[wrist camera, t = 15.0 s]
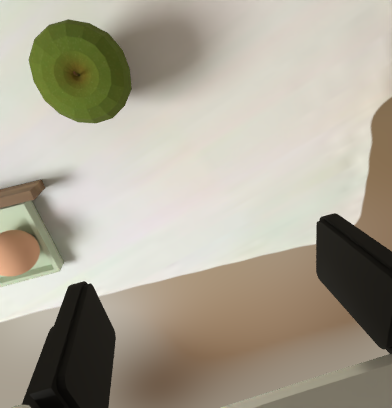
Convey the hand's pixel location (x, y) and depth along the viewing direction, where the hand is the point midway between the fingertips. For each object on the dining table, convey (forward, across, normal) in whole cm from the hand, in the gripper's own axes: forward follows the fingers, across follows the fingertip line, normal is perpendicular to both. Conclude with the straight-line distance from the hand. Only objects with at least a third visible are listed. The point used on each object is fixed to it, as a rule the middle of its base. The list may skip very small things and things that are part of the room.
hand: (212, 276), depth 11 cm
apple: (+28, +6, -9) cm, 30 cm away
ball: (+27, +25, +9) cm, 38 cm away
